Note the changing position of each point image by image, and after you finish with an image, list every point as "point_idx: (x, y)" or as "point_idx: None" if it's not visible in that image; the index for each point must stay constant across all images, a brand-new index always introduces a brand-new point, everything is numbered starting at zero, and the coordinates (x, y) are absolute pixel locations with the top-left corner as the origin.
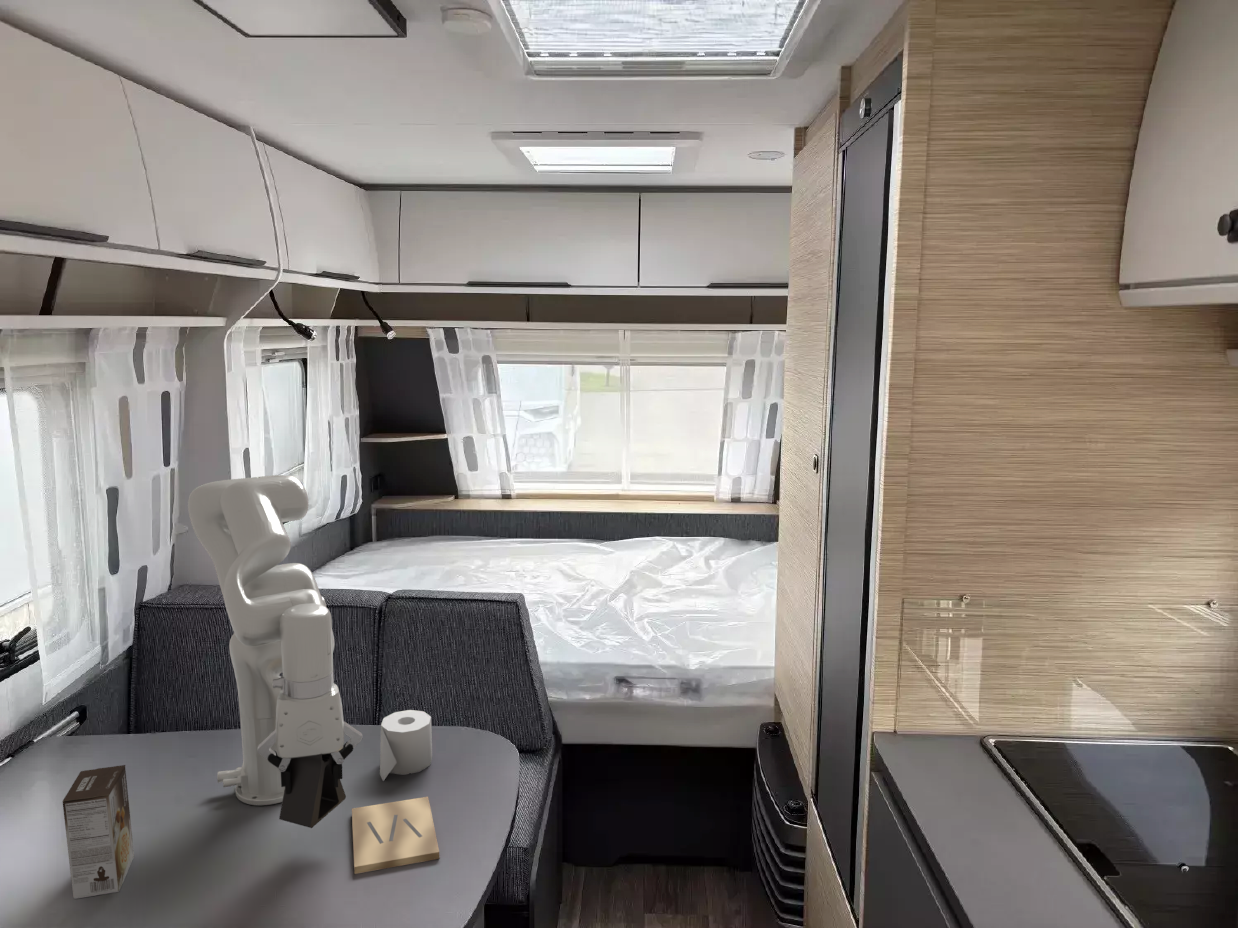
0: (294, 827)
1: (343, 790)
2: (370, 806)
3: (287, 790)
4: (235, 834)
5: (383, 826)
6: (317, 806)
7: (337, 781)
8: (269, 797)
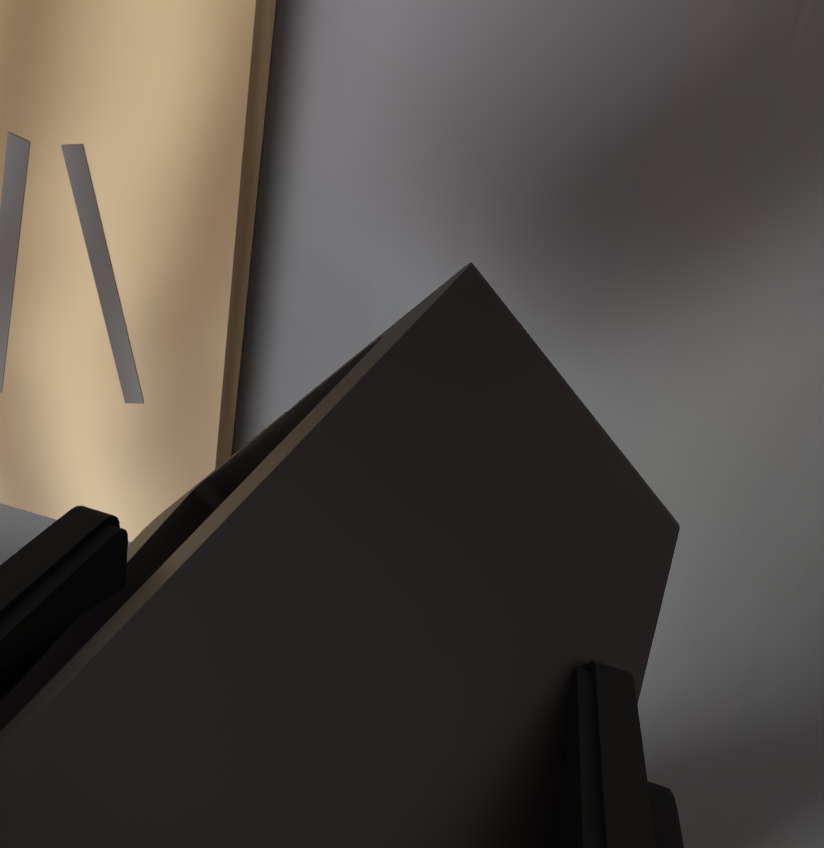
0: None
1: None
2: None
3: (617, 697)
4: (777, 697)
5: (58, 315)
6: (353, 374)
7: (38, 539)
8: None
